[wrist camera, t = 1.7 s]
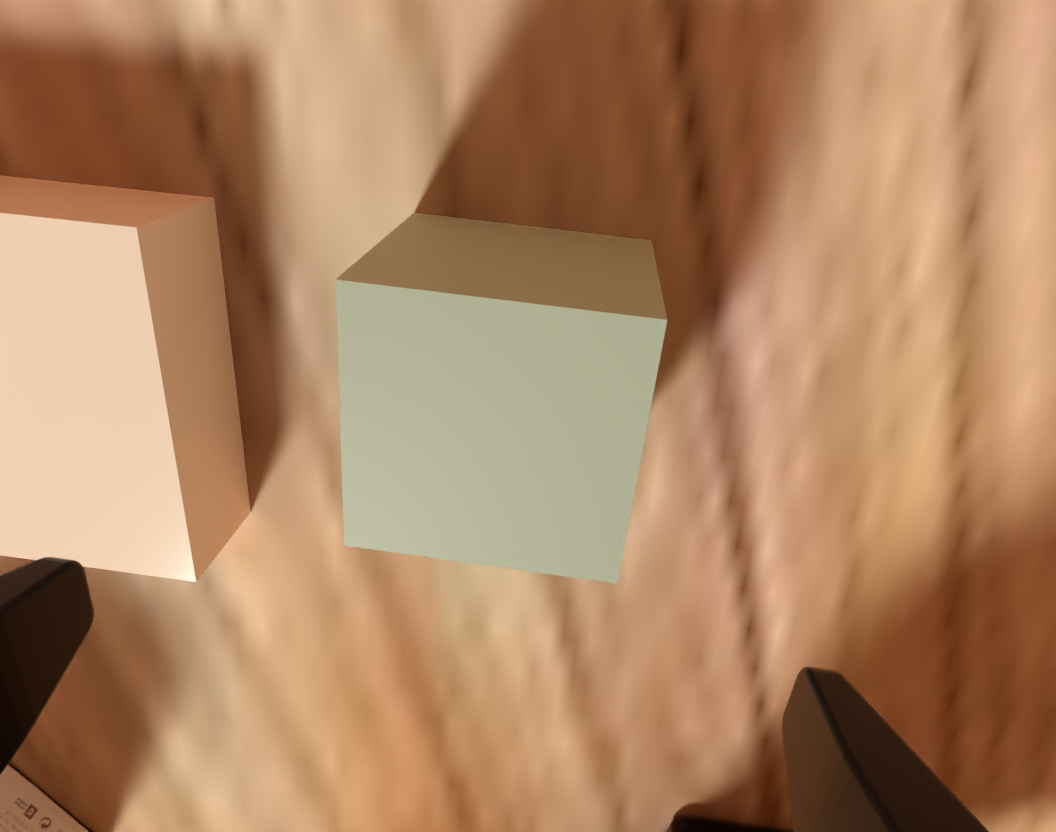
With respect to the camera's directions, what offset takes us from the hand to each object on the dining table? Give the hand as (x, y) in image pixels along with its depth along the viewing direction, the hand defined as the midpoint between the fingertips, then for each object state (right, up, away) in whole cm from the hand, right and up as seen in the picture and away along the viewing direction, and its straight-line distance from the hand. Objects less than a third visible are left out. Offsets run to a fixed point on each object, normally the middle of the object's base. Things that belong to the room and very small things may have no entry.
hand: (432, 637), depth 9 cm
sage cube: (+1, +5, +9) cm, 10 cm away
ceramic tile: (-11, +5, +11) cm, 16 cm away
